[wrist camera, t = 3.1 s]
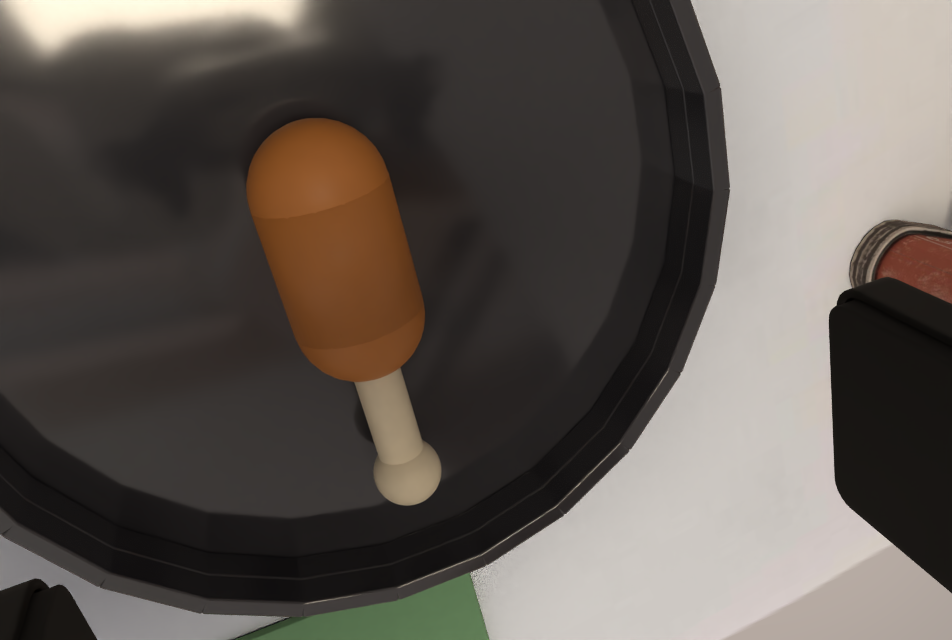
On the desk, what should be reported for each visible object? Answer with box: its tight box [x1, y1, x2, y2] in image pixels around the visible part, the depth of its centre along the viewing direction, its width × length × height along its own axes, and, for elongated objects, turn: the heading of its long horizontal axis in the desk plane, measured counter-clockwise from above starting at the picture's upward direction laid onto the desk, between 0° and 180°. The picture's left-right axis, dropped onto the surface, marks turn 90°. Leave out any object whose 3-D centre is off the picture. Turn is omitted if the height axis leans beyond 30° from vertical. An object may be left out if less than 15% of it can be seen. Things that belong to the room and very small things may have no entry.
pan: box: [0, 0, 730, 617], centre depth 20 cm, size 20×20×2 cm
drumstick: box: [246, 118, 441, 506], centre depth 20 cm, size 10×3×3 cm, turn 13°
